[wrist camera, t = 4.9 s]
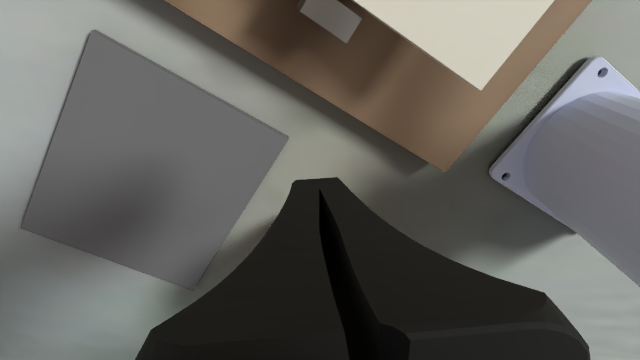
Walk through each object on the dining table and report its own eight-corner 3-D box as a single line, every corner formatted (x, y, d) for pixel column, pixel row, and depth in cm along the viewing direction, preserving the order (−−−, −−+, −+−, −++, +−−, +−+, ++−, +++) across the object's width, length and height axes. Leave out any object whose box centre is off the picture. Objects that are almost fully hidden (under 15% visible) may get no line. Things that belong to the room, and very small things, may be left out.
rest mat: (288, 136, 20) (288, 139, 20) (193, 285, 24) (192, 290, 24) (95, 29, 17) (91, 30, 16) (24, 223, 21) (20, 227, 21)
